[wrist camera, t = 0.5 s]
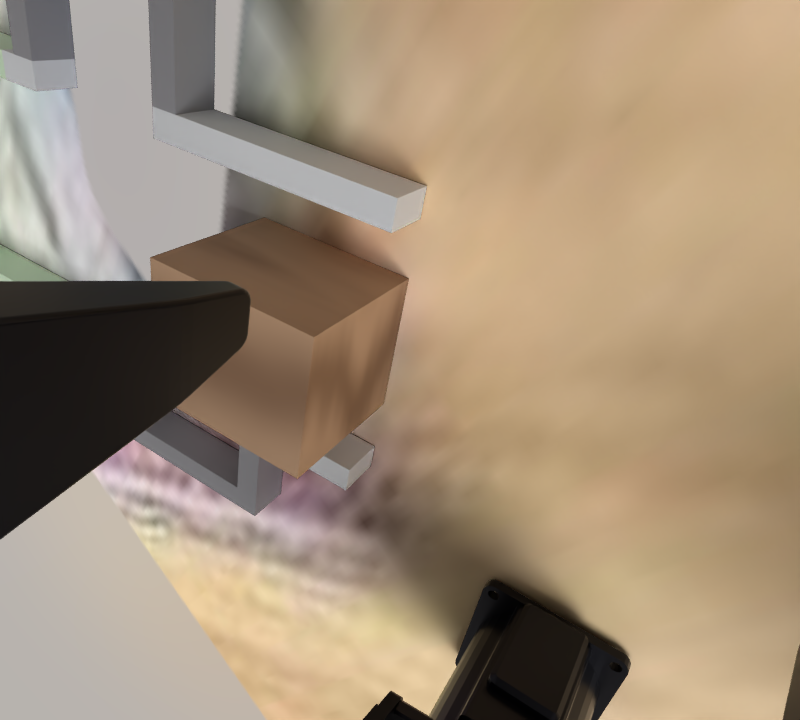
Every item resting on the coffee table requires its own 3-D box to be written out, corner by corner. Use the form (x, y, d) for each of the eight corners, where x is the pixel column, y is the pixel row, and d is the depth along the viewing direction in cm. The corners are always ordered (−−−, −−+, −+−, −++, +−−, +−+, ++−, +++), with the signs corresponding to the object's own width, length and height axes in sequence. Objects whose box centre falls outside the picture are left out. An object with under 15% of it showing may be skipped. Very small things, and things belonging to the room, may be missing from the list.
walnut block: (384, 403, 27) (297, 479, 23) (258, 338, 30) (156, 395, 25) (410, 277, 24) (313, 337, 20) (266, 216, 27) (150, 257, 22)
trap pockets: (280, 493, 34) (254, 516, 32) (92, 379, 39) (62, 394, 37) (330, -8, 21) (291, -10, 20) (42, -82, 26) (-7, -88, 24)
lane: (370, 466, 29) (345, 490, 28) (75, 302, 36) (42, 314, 35) (426, 186, 22) (397, 198, 21) (44, 48, 29) (1, 49, 27)
